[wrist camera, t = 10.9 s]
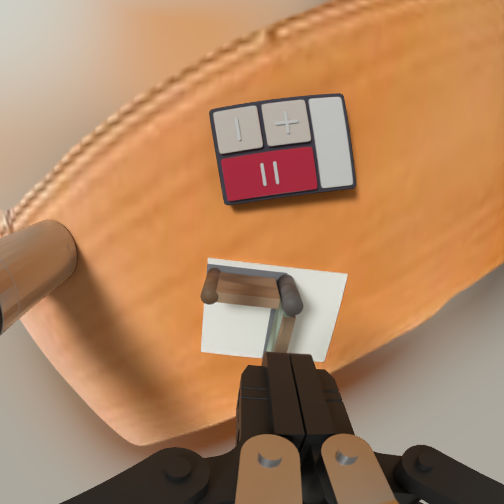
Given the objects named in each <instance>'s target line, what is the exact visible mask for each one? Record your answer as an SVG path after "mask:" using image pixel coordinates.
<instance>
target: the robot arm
mask: <svg viewBox="0 0 504 504" xmlns="http://www.w3.org/2000/svg"><path fill="white" fill-rule="evenodd" d="M76 264H77V250H76V246H75V242H74V240H73V238H72V236H71V234H70V233H69V232H68V230H67V229H66V228H65V227H64V226H63V225H61V224H60V223H58V222H56V221H53V220H44V221H41V222H38V223H36V224H33V225H31V226H28V227H26V228H23V229H21V230H19V231H16V232H14V233H12V234H9V235H7V236H5V237H3V238H0V335H2V334H3V333H4V332H5V331H6V330H7V329H8V328H9V327H10V326H12V325H13V324H14V323H15V322H16V321H17V320H18V319H19V318H21V317H22V316H23V315H24V314H25V313H26V312H28V311H29V310H30V309H31V308H32V307H33V306H35V305H36V304H37V303H38V302H39V301H41V300H42V299H43V298H44V297H46V296H47V295H48V294H49V293H50V292H52V291H53V290H54V289H55V288H57V287H58V286H59V285H60V284H62V283H63V282H64V281H65V280H67V279H68V278H69V277H70V276H71V275H72V274H73V272H74V270H75V268H76ZM338 391H339V390H338V388H337V385H336V382H335V379H334V378H333V377H332V376H331V375H330V374H329V373H328V372H327V371H326V370H324V369H316V367H315V364H314V361H313V358H312V355H311V354H298V353H281V352H268V351H265V353H264V356H263V361H262V366H253V365H248V366H247V367H246V369H245V370H244V372H243V373H242V375H241V381H240V388H239V394H238V401H237V407H236V447H235V448H234V449H233V450H231V451H230V452H228V453H226V454H223V455H220V456H215V457H209V458H202V457H201V456H200V455H199V454H197V453H195V452H193V451H191V450H188V449H185V448H176V447H174V448H166V449H163V450H160V451H158V452H156V453H154V454H153V455H151V456H149V457H148V458H146V459H144V460H143V461H141V462H139V463H138V464H136V465H134V466H132V467H131V468H129V469H127V470H125V471H123V472H122V473H120V474H118V475H116V476H114V477H113V478H111V479H109V480H107V481H105V482H103V483H102V484H99V485H97V486H95V487H94V488H91V489H89V490H87V491H86V492H83V493H81V494H79V495H77V496H75V497H73V498H71V499H69V500H67V501H64V502H62V503H60V504H423V503H421V502H419V501H420V500H421V499H422V500H424V501H425V502H427V503H429V504H504V485H503V484H501V483H499V482H497V481H495V480H493V479H491V478H489V477H487V476H485V475H483V474H481V473H479V472H477V471H475V470H473V469H471V468H469V467H467V466H466V465H464V464H462V463H460V462H458V461H456V460H454V459H452V458H451V457H449V456H447V455H445V454H443V453H441V452H440V451H438V450H436V449H434V448H432V447H429V446H426V445H416V446H412V447H410V448H409V449H407V450H406V451H405V453H404V454H403V455H402V456H396V455H389V454H381V453H377V452H373V450H372V449H371V447H370V446H369V444H368V443H367V442H366V441H365V440H363V439H361V438H360V437H357V436H355V434H354V431H353V429H352V426H351V423H350V420H349V417H348V415H347V412H346V409H345V406H344V404H343V402H342V398H341V396H340V393H339V392H338Z"/></svg>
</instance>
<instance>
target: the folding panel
mask: <svg viewBox="0 0 504 504" xmlns="http://www.w3.org/2000/svg"><path fill="white" fill-rule="evenodd" d="M279 296H280V294H279ZM295 320H296V316H289V315H287V314H286V313H285V312H284V310H283V306H282V302H281V298H280V302H279V308H278V309H276V311H275V315H274V320H273V324H272V329H271V333H270V337H269V342H268V346H267V350H266V351H268V352H281V353H287V350H288V347H289V343H290V339H291V335H292V332H293V328H294V324H295ZM263 356H264V355H263Z"/></svg>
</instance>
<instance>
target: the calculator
mask: <svg viewBox="0 0 504 504" xmlns="http://www.w3.org/2000/svg"><path fill="white" fill-rule="evenodd" d="M209 116H210V122H211V128H212V134H213V140H214V146H215V152H216V158H217V164H218V170H219V176H220V182H221V188H222V194H223V199H224V203H225V204H226V205H234V204H241V203H247V202H254V201H261V200H267V199H274V198H282V197H289V196H296V195H304V194H312V193H320V192H328V191H336V190H345V189H353V188H355V187H356V178H355V169H354V160H353V152H352V145H351V138H350V131H349V124H348V118H347V112H346V106H345V100H344V96H343V95H342V94H340V93H337V94H322V95H309V96H299V97H289V98H280V99H272V100H265V101H258V102H251V103H244V104H238V105H232V106H227V107H221V108H216V109H212V110H210V112H209Z"/></svg>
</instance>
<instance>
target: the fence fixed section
mask: <svg viewBox="0 0 504 504" xmlns="http://www.w3.org/2000/svg"><path fill="white" fill-rule="evenodd" d="M277 285H278V288H277ZM278 289H279V292H278ZM279 294H280V296H279ZM280 298H281V302H282V306H283V310H284V312H285V313H286V314H287V315H289V316H296V315H298V314H300V313H301V312H302V310H303V302H302V299H301V297H300V294H299V292H298V289H297V286H296V284H295V281H294V279H293V277H292V276H291V275H288V274H285V275H282V276H280V277H279V279H278V281H277V284H276V280H275V278H268V277H259V276H251V275H242V274H233V273H225V272H221V271H220V270H219V269H218V268H211V269H210V270H209V271H208V273H207V277H206V280H205V283H204V286H203V290H202V293H201V300H202V301H203V302H204V303H205V304H208V305H211V304H214V303H215V302H219V303H228V304H236V305H245V306H255V307H264V308H274V309H278V308H279V302H280Z"/></svg>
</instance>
